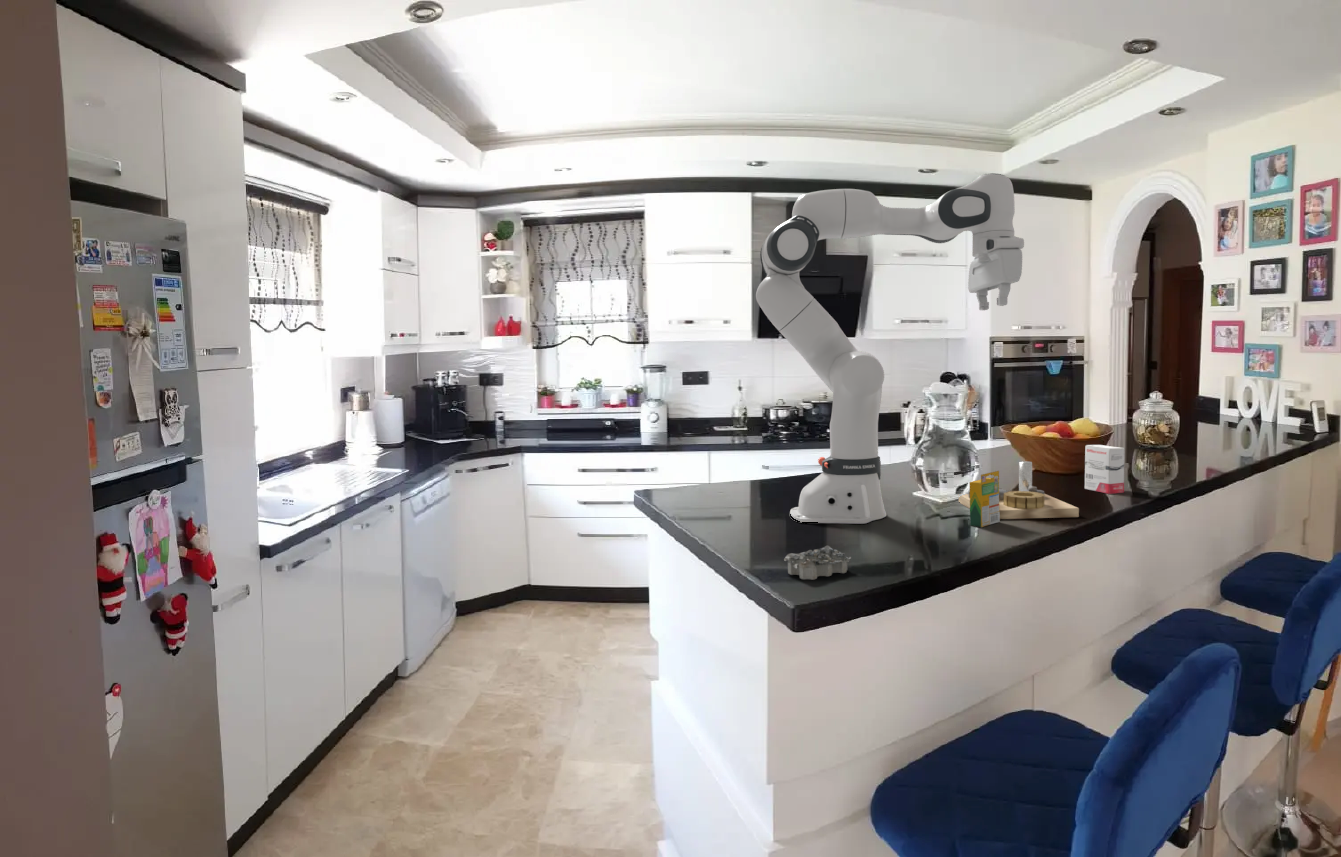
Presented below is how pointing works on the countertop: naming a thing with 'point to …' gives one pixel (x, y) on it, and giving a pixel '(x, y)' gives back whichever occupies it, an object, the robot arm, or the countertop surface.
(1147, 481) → the countertop surface
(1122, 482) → the ink box
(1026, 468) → the input shaft
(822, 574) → the egg carton
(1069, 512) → the gear board
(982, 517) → the crayon box
